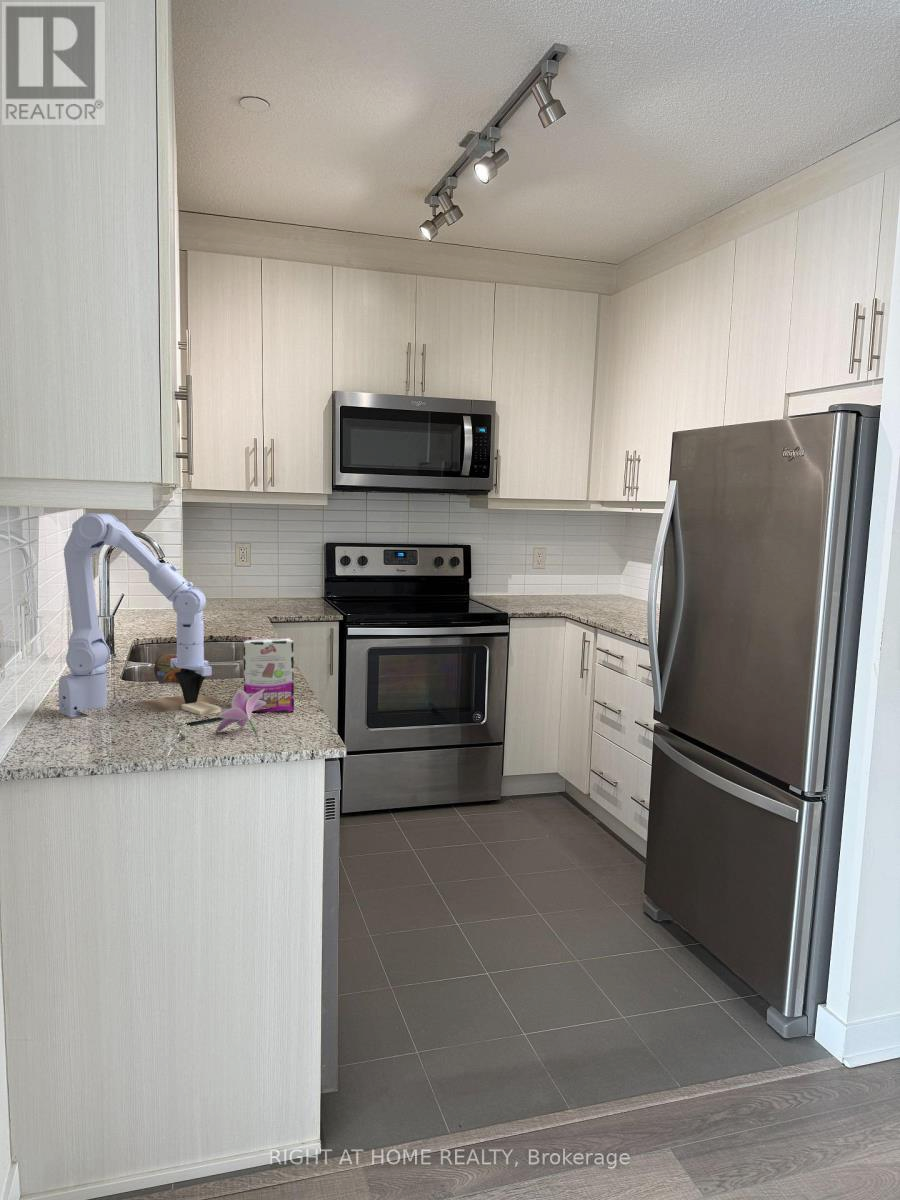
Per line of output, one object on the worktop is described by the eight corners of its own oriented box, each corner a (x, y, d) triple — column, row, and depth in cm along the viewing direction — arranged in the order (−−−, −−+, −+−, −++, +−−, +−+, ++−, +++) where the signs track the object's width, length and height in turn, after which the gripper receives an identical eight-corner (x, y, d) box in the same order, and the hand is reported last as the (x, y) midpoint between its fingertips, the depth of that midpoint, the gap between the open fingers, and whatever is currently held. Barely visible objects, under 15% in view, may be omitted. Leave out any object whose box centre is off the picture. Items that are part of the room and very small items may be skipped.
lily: (275, 730, 177) (257, 689, 179) (286, 721, 167) (267, 677, 168) (222, 754, 172) (203, 711, 173) (230, 746, 162) (210, 701, 163)
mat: (193, 727, 174) (193, 725, 174) (167, 717, 181) (167, 716, 181) (243, 718, 183) (243, 716, 183) (216, 709, 190) (216, 707, 190)
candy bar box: (292, 707, 194) (292, 637, 192) (294, 712, 189) (294, 640, 187) (242, 709, 191) (242, 638, 189) (243, 714, 186) (243, 641, 184)
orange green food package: (153, 684, 216) (152, 652, 215) (162, 682, 219) (162, 650, 218) (196, 691, 209) (196, 658, 208) (205, 689, 212) (205, 656, 211)
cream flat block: (200, 720, 178) (200, 711, 178) (181, 713, 184) (181, 704, 184) (221, 716, 182) (221, 707, 182) (202, 710, 187) (202, 701, 187)
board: (158, 719, 180) (158, 712, 180) (132, 709, 188) (132, 702, 188) (224, 707, 192) (223, 701, 192) (197, 699, 200) (197, 693, 200)
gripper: (223, 645, 183) (224, 706, 184) (190, 637, 193) (190, 695, 194) (194, 648, 178) (195, 711, 179) (161, 640, 187) (162, 699, 189)
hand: (190, 703), depth 186 cm, fingers closed
